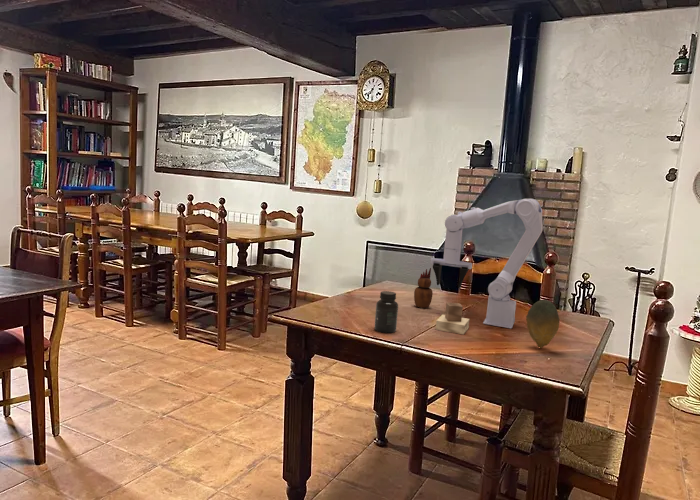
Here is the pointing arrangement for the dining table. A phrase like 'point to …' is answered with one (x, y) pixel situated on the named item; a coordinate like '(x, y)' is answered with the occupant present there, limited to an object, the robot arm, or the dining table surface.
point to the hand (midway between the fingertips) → (448, 286)
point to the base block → (452, 325)
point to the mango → (542, 322)
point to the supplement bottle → (386, 313)
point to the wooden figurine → (423, 291)
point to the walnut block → (453, 312)
